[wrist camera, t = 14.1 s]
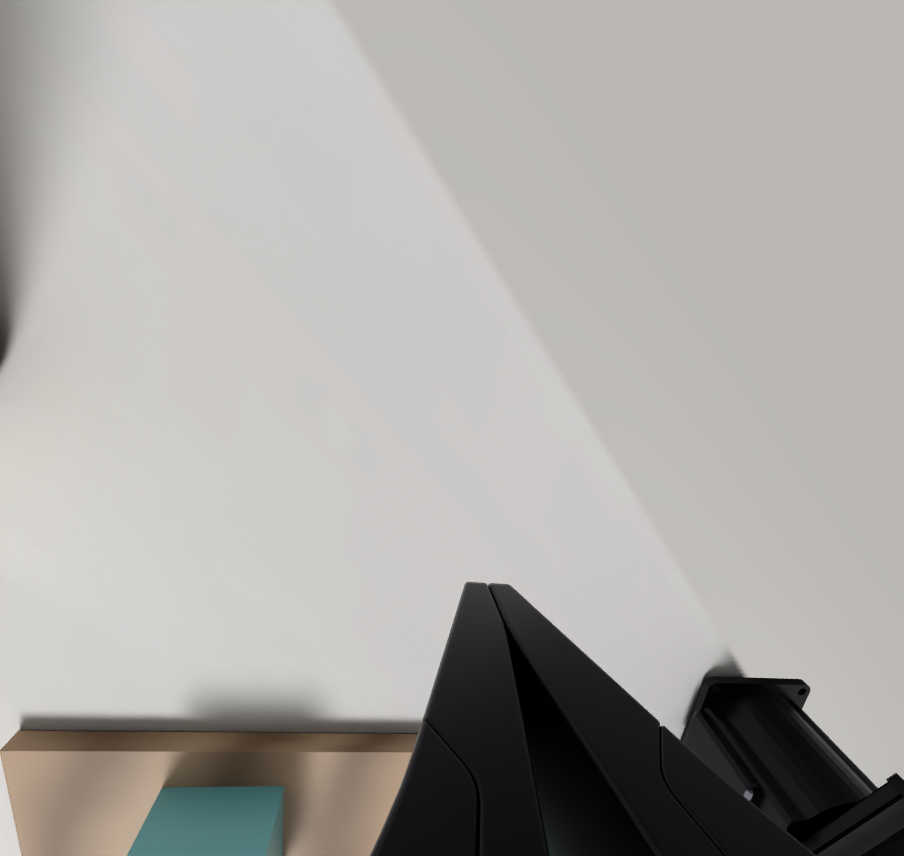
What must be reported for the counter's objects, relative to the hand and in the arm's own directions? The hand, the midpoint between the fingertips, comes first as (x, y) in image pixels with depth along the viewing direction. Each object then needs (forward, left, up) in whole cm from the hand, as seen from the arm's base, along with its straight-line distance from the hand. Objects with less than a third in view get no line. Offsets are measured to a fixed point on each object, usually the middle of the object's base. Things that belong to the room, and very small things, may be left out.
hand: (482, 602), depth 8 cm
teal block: (+9, +23, -10) cm, 27 cm away
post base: (+9, +23, -11) cm, 27 cm away
